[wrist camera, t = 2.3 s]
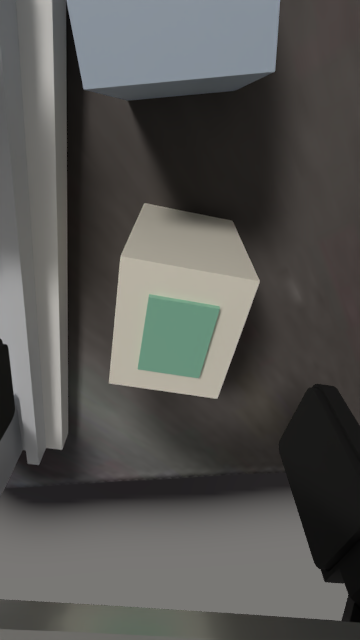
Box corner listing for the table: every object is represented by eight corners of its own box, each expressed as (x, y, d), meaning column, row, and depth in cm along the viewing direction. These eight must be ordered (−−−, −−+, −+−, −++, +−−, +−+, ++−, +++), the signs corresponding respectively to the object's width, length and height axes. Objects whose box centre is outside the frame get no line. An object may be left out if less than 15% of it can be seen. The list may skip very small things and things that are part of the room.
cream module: (232, 220, 16) (261, 284, 10) (207, 311, 19) (217, 402, 13) (144, 203, 16) (119, 258, 10) (132, 298, 19) (107, 386, 13)
